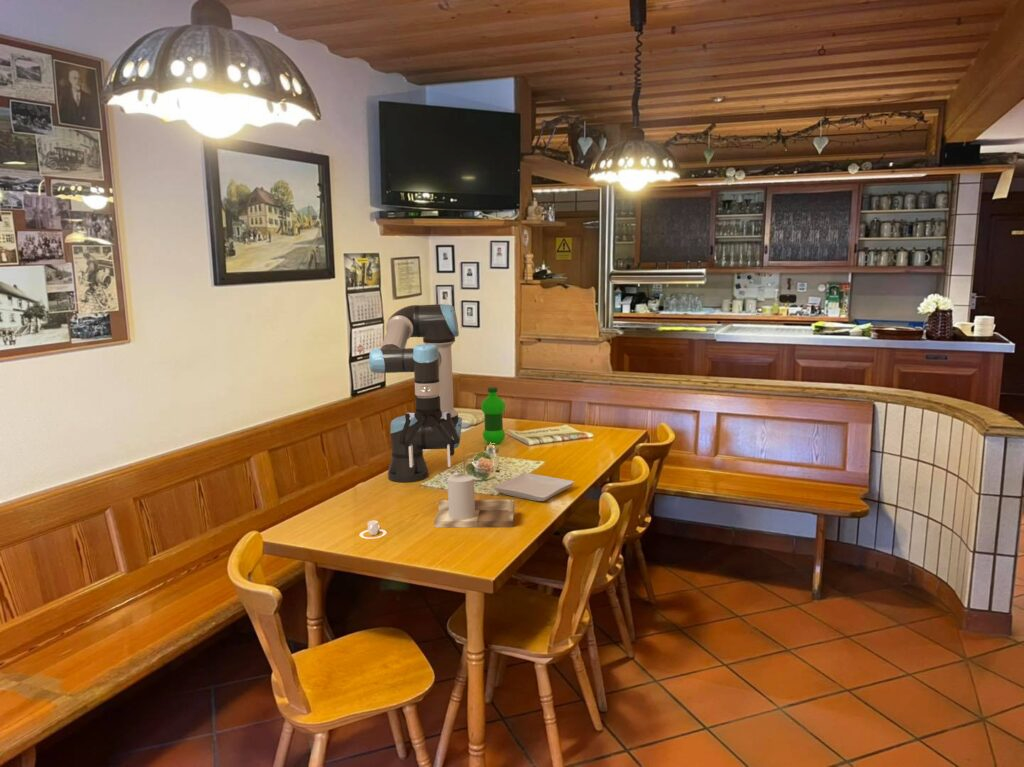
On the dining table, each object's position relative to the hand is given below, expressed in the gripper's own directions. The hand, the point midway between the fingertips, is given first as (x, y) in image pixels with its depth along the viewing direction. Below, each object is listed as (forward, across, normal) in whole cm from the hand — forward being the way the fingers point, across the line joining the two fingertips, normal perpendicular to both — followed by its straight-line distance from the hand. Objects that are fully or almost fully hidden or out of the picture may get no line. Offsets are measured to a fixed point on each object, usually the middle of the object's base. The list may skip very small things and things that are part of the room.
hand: (430, 465), depth 227 cm
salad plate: (+19, +31, +29) cm, 47 cm away
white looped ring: (+19, -14, -8) cm, 25 cm away
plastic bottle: (+18, +13, +100) cm, 103 cm away
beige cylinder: (+16, +9, 0) cm, 19 cm away
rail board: (+18, +13, 0) cm, 22 cm away
